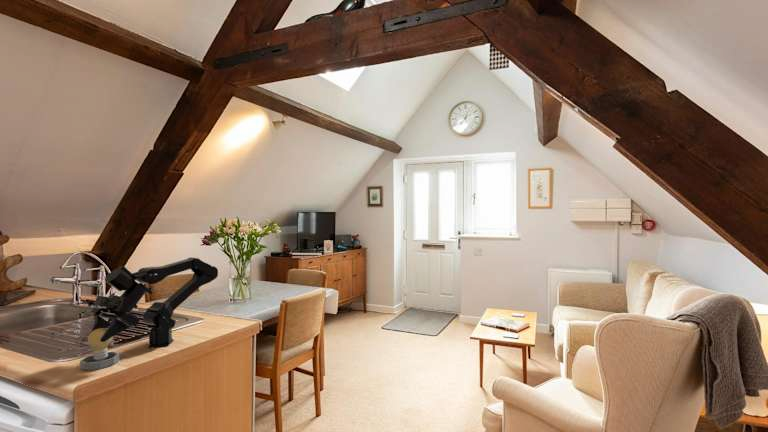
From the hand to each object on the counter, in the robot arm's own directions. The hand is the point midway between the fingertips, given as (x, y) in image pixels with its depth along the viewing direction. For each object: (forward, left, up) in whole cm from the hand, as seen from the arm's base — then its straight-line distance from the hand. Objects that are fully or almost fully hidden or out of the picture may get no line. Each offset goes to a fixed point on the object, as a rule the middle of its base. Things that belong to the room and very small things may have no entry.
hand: (95, 340), depth 122 cm
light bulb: (-1, -1, -7) cm, 7 cm away
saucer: (-1, -1, -8) cm, 8 cm away
